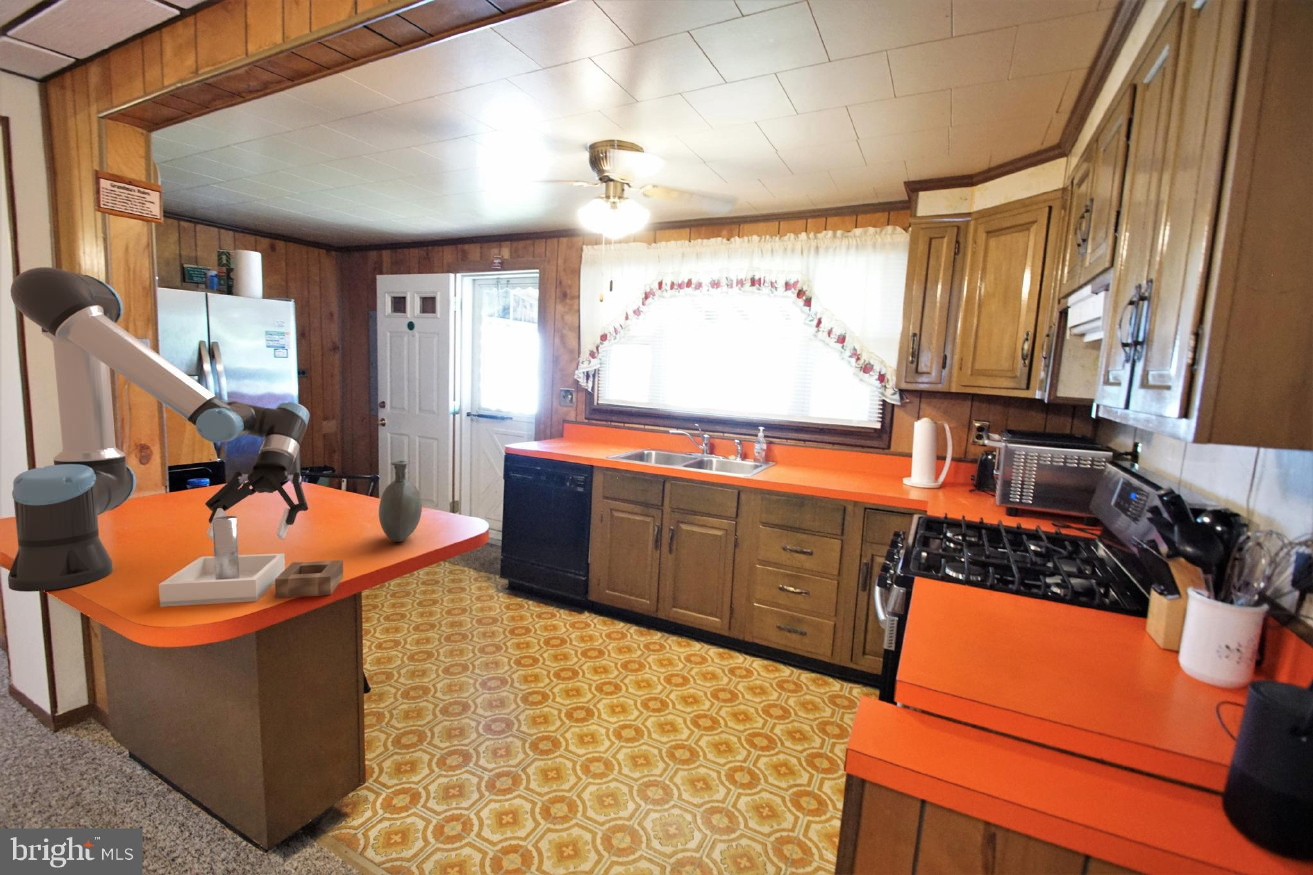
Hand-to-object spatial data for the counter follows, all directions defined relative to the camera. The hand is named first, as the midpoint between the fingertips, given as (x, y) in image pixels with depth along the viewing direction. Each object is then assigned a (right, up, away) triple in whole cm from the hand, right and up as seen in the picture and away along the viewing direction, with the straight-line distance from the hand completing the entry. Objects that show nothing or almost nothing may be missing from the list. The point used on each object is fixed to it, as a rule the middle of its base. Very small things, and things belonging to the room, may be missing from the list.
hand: (245, 537), depth 123 cm
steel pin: (+1, -9, -6) cm, 11 cm away
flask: (+20, -6, +31) cm, 37 cm away
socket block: (+16, -10, -3) cm, 20 cm away
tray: (0, -10, -6) cm, 11 cm away
